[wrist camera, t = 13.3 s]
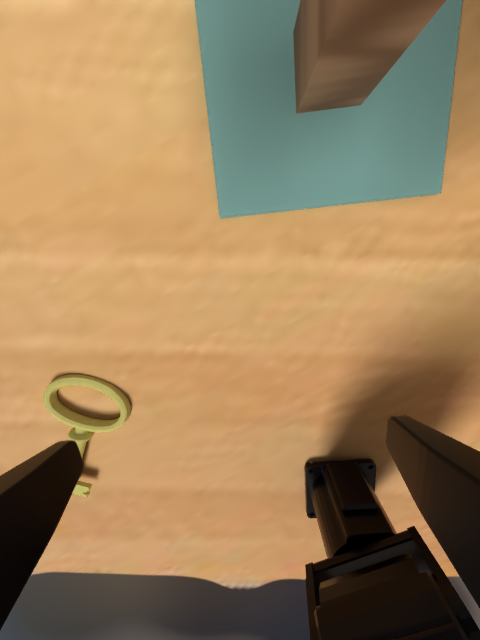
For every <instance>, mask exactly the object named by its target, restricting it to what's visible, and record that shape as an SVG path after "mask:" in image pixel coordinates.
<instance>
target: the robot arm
mask: <svg viewBox="0 0 480 640" xmlns="http://www.w3.org/2000/svg"><path fill="white" fill-rule="evenodd" d="M386 443H387V447H388V450H389V452H390V454H391V456H392V458H393V460H394V462H395V464H396V465H397V467H398V469H399V471H400V473H401V475H402V477H403V479H404V481H405V483H406V485H407V487H408V489H409V491H410V493H411V495H412V497H413V499H414V501H415V503H416V505H417V507H418V509H419V510H420V512H421V514H422V515H423V517H424V519H425V521H426V522H427V524H428V525H429V527H430V529H431V530H432V532H433V534H434V535H435V537H436V538H437V540H438V542H439V543H440V545H441V547H442V548H443V550H444V551H445V553H446V555H447V556H448V558H449V560H450V561H451V563H452V564H453V566H454V568H455V569H456V571H457V572H458V574H459V576H460V577H461V579H462V581H463V582H464V584H465V585H466V587H467V589H468V590H469V592H470V594H471V595H472V596H473V598H474V600H475V602H476V603H477V605H478V607H479V608H480V452H479V451H477V450H475V449H473V448H471V447H469V446H467V445H465V444H463V443H461V442H459V441H457V440H455V439H453V438H451V437H449V436H447V435H445V434H443V433H441V432H439V431H437V430H435V429H433V428H431V427H429V426H427V425H425V424H423V423H421V422H419V421H417V420H415V419H413V418H411V417H409V416H406V415H394V416H390V417H389V418H388V421H387V435H386ZM83 466H84V463H83V459H82V456H81V453H80V450H79V448H78V445H77V443H76V442H75V441H73V440H68V441H60V442H57V443H55V444H54V445H52V446H50V447H49V448H47V449H45V450H43V451H42V452H40V453H38V454H37V455H35V456H33V457H31V458H30V459H28V460H26V461H25V462H23V463H21V464H20V465H18V466H16V467H14V468H13V469H11V470H9V471H8V472H6V473H4V474H2V475H1V476H0V630H1V628H2V626H3V625H4V623H5V621H6V619H7V617H8V616H9V614H10V612H11V610H12V608H13V607H14V605H15V603H16V601H17V599H18V597H19V596H20V594H21V592H22V590H23V588H24V587H25V585H26V583H27V581H28V579H29V577H30V576H31V574H32V572H33V570H34V568H35V567H36V565H37V563H38V561H39V559H40V558H41V556H42V554H43V552H44V550H45V548H46V547H47V545H48V543H49V541H50V539H51V537H52V535H53V534H54V532H55V529H56V527H57V525H58V523H59V521H60V519H61V517H62V515H63V512H64V510H65V508H66V506H67V504H68V502H69V499H70V497H71V495H72V493H73V491H74V488H75V486H76V484H77V482H78V480H79V478H80V475H81V473H82V471H83ZM309 469H310V470H309ZM375 477H376V464H375V463H374V461H373V460H371V459H364V460H350V461H336V462H321V463H309V464H306V465H305V495H306V512H307V516H308V517H309V518H317V521H318V525H319V528H320V532H321V536H322V539H323V543H324V547H325V551H326V554H327V558H328V559H325V560H322V561H319V562H316V563H314V564H313V563H309V564H306V565H305V567H306V589H307V602H308V615H309V628H310V640H480V630H479V628H478V626H477V625H476V623H475V621H474V620H473V618H472V616H471V615H470V613H469V611H468V610H467V608H466V606H465V605H464V603H463V602H462V600H461V598H460V597H459V595H458V594H457V592H456V590H455V589H454V587H453V586H452V584H451V583H450V581H449V579H448V578H447V576H446V575H445V573H444V572H443V570H442V569H441V567H440V565H439V564H438V562H437V561H436V559H435V558H434V556H433V555H432V553H431V551H430V550H429V548H428V547H427V545H426V544H425V542H424V541H423V539H422V538H421V536H420V534H419V533H418V531H417V530H416V528H415V527H414V526H412V527H409V528H407V530H406V531H403V532H401V533H398V534H397V533H396V531H395V529H394V527H393V525H392V524H391V522H390V520H389V518H388V516H387V514H386V512H385V511H384V509H383V507H382V505H381V503H380V501H379V499H378V498H377V496H376V494H375Z"/></svg>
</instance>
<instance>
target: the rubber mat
mask: <svg viewBox="0 0 480 640" xmlns="http://www.w3.org/2000/svg"><path fill="white" fill-rule="evenodd" d="M462 2H463V0H446V2H445V3H444V4H443V5H442V6H441V8H440V9H439V10H438V11H437V13H436V14H435V15H434V16H433V18H432V19H431V20H430V21H429V22H428V24H427V25H426V26H425V27H424V29H423V30H422V31H421V32H420V33H419V35H418V36H417V37H416V38H415V40H414V41H413V42H412V43H411V44H410V46H409V47H408V48H407V49H406V51H405V52H404V53H403V54H402V56H401V57H400V58H399V59H398V60H397V62H396V63H395V64H394V65H393V67H392V68H391V69H390V70H389V71H388V73H387V74H386V75H385V76H384V78H383V79H382V80H381V81H380V82H379V84H378V85H377V86H376V87H375V89H374V90H373V91H372V92H371V94H370V95H369V96H368V97H367V98H366V100H365V101H364V102H363V103H362V105H358V106H351V107H344V108H336V109H329V110H321V111H314V112H306V113H299V114H296V95H295V68H294V40H293V31H294V27H295V22H296V18H297V14H298V9H299V5H300V0H195V7H196V16H197V24H198V33H199V42H200V50H201V59H202V67H203V76H204V85H205V93H206V102H207V111H208V119H209V128H210V136H211V145H212V154H213V162H214V171H215V180H216V188H217V197H218V205H219V214H220V219H221V218H230V217H238V216H247V215H256V214H265V213H274V212H283V211H292V210H301V209H310V208H319V207H328V206H337V205H346V204H355V203H363V202H372V201H381V200H390V199H399V198H408V197H417V196H426V195H435V194H439V193H441V189H442V180H443V171H444V162H445V153H446V144H447V135H448V126H449V118H450V109H451V100H452V91H453V82H454V73H455V64H456V55H457V46H458V37H459V29H460V20H461V11H462Z"/></svg>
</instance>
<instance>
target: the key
mask: <svg viewBox="0 0 480 640" xmlns="http://www.w3.org/2000/svg"><path fill="white" fill-rule="evenodd" d="M70 385H79V386H86V387H89V388H93V389H96V390H98V391H100V392H102V393H104V394H106V395H107V396H109V397H110V398H111V399H112V400H113V401H114V402H115V403H116V404H117V405H118V407H119V409H120V417H119V418H117V419H113V420H100V419H94V418H90V417H86V416H83V415H80V414H78V413H75V412H73V411H71V410H70V409H68V408H66V407H65V406H64V405H63V404H61V403H60V401H59V400H58V398H57V390H58V389H59V388H60V387H62V386H70ZM43 401H44V405H45V407H46V409H47V410H48V412H49V413H50V414H52V415H53V416H54V417H55V418H56V419H58V420H59V421H61V422H63V423H65V424H67V425H70V426H72V427H74V428H73V429H71V430H70V432H69V434H68V438H69V439H70V440H73V441H75V442H76V443H77V445H78V448H79V450H80V453H81V456H82V458H83V454H84V450H85V446H86V442H87V441H88V440H90V439H91V438H92V436H93V432H109V431H114V430H116V429H118V428H119V427H120V426H122V425H123V424H124V423H125V422H126V421H127V419H128V417H129V415H130V412H131V406H130V403H129V400H128V399H127V397H126V396H125V395H124V394H123V393H122V392H121V391H120V390H119V389H118V388H116V387H115V386H113V385H111V384H110V383H107V382H105V381H103V380H100V379H97V378H94V377H90V376H85V375H78V374H72V375H64V376H61V377H58V378H56V379H55V380H54V381H52V382H51V383H50V384H49V385H48V387H47V388H46V389H45V392H44V396H43ZM91 486H92V484H89V483H85V482H81V481H78V482H77V484H76V486H75V488H74V491H73V493H72V494H76V495H79V496H83V497H87V496H88V495H89V493H90V491H89V490H90V488H91Z"/></svg>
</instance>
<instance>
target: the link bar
mask: <svg viewBox="0 0 480 640" xmlns="http://www.w3.org/2000/svg"><path fill="white" fill-rule="evenodd" d="M445 2H446V0H300V5H299V9H298V14H297V18H296V22H295V27H294V31H293V40H294V68H295V95H296V114H299V113H306V112H314V111H321V110H329V109H336V108H344V107H351V106H358V105H362V103H363V102H364V101H365V100H366V98H367V97H368V96H369V95H370V94H371V92H372V91H373V90H374V89H375V87H376V86H377V85H378V84H379V82H380V81H381V80H382V79H383V78H384V76H385V75H386V74H387V73H388V71H389V70H390V69H391V68H392V67H393V65H394V64H395V63H396V62H397V60H398V59H399V58H400V57H401V56H402V54H403V53H404V52H405V51H406V49H407V48H408V47H409V46H410V44H411V43H412V42H413V41H414V40H415V38H416V37H417V36H418V35H419V33H420V32H421V31H422V30H423V29H424V27H425V26H426V25H427V24H428V22H429V21H430V20H431V19H432V18H433V16H434V15H435V14H436V13H437V11H438V10H439V9H440V8H441V6H442V5H443V4H444V3H445Z"/></svg>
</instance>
